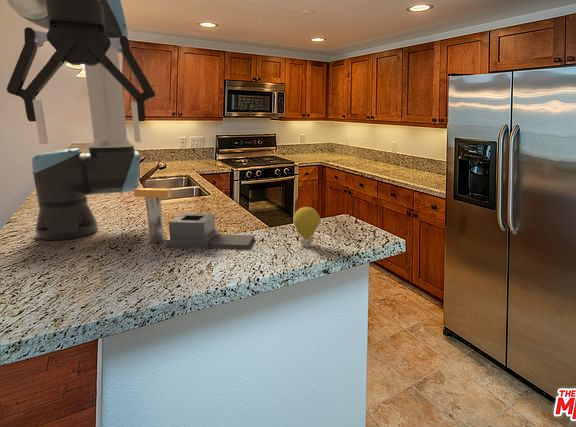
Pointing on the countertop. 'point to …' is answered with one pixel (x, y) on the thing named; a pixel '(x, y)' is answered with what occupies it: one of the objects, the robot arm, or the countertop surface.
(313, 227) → the light bulb
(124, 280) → the countertop surface
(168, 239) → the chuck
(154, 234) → the key
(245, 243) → the mat
